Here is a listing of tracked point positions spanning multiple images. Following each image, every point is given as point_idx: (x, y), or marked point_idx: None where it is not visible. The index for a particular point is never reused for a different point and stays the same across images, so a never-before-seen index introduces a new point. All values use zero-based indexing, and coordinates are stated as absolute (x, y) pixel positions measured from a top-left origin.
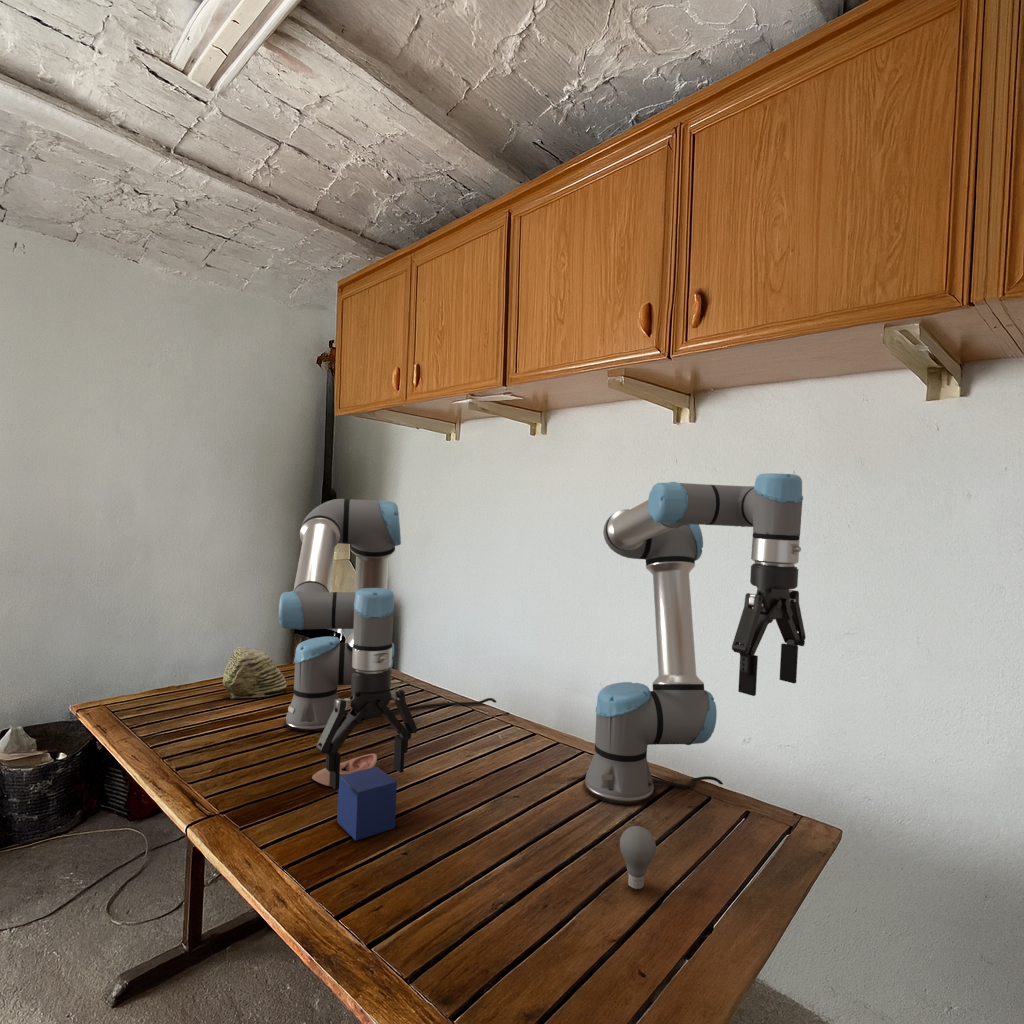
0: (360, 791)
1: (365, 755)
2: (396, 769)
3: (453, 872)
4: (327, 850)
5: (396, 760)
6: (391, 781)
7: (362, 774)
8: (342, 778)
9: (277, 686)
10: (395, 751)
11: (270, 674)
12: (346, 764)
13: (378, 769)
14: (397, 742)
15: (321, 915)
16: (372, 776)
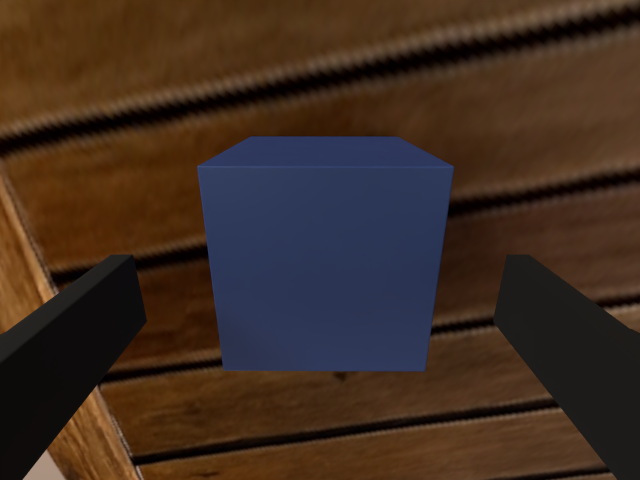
0: (237, 370)
1: None
2: (502, 288)
3: (383, 466)
4: (175, 268)
5: (530, 313)
6: (405, 360)
7: (325, 221)
8: (207, 205)
9: None
10: (570, 331)
11: None
12: None
13: (435, 211)
14: (626, 415)
15: (109, 445)
16: (359, 271)
